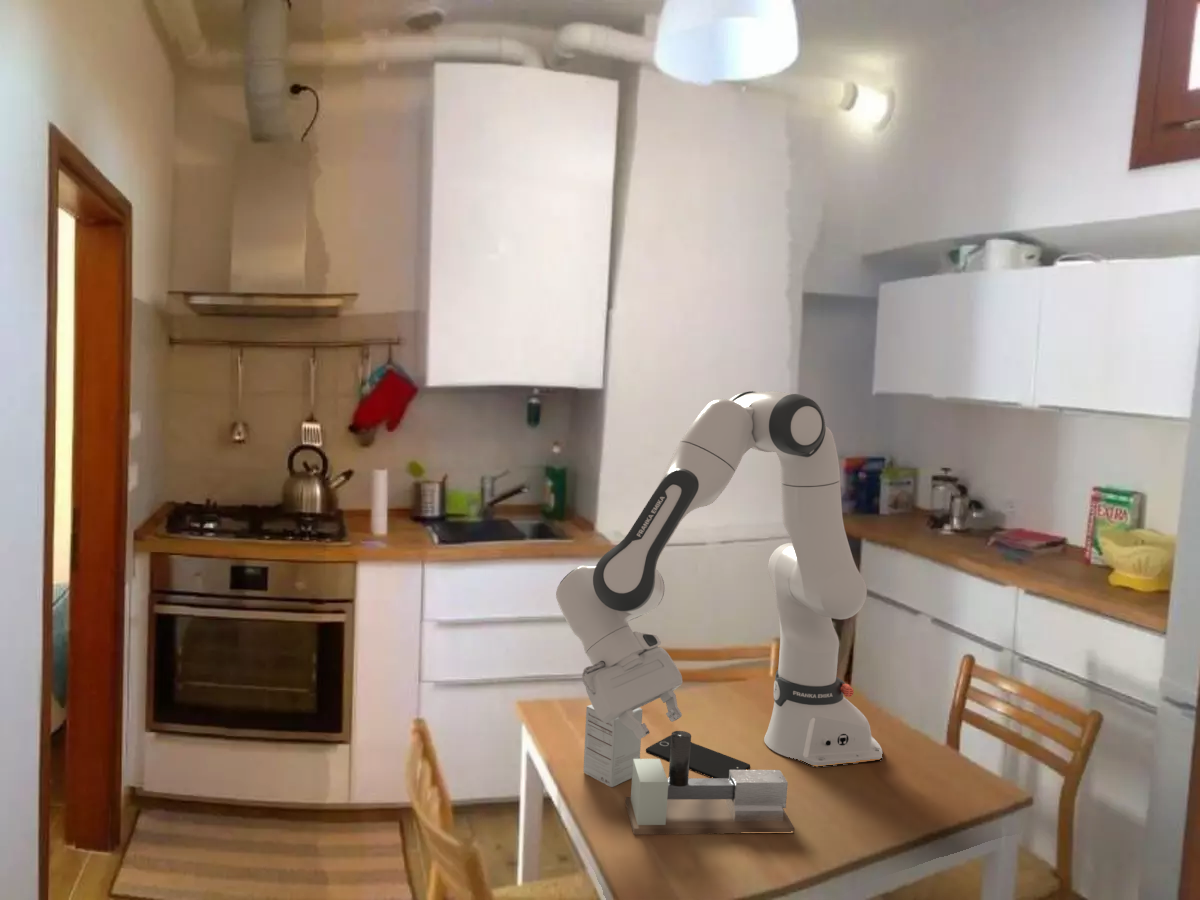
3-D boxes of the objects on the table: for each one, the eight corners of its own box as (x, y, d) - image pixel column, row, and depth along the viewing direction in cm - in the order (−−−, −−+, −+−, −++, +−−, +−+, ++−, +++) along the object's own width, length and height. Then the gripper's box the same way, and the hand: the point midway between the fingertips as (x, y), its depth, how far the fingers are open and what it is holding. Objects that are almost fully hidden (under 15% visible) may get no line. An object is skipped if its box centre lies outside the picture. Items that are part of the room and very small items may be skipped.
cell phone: (670, 739, 181) (671, 734, 181) (751, 769, 170) (751, 764, 170) (644, 753, 174) (644, 748, 174) (726, 786, 163) (726, 781, 163)
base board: (775, 802, 158) (776, 796, 158) (793, 833, 148) (794, 827, 148) (625, 802, 155) (625, 796, 155) (633, 834, 145) (634, 828, 145)
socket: (657, 799, 154) (659, 758, 153) (665, 824, 146) (668, 782, 146) (630, 799, 154) (633, 758, 153) (637, 825, 146) (640, 782, 145)
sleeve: (775, 802, 156) (778, 767, 155) (786, 821, 150) (789, 784, 149) (725, 802, 155) (728, 767, 154) (734, 821, 149) (737, 784, 148)
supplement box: (610, 761, 170) (614, 695, 168) (640, 776, 165) (644, 708, 163) (581, 772, 165) (585, 705, 163) (610, 788, 159) (614, 718, 158)
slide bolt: (734, 790, 153) (739, 731, 152) (739, 800, 150) (744, 739, 149) (645, 790, 151) (649, 730, 150) (648, 800, 148) (652, 739, 147)
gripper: (588, 661, 146) (635, 738, 142) (662, 632, 162) (706, 701, 157) (566, 680, 150) (610, 756, 145) (640, 650, 166) (682, 718, 161)
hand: (661, 727), depth 151 cm, fingers open, 8 cm apart
